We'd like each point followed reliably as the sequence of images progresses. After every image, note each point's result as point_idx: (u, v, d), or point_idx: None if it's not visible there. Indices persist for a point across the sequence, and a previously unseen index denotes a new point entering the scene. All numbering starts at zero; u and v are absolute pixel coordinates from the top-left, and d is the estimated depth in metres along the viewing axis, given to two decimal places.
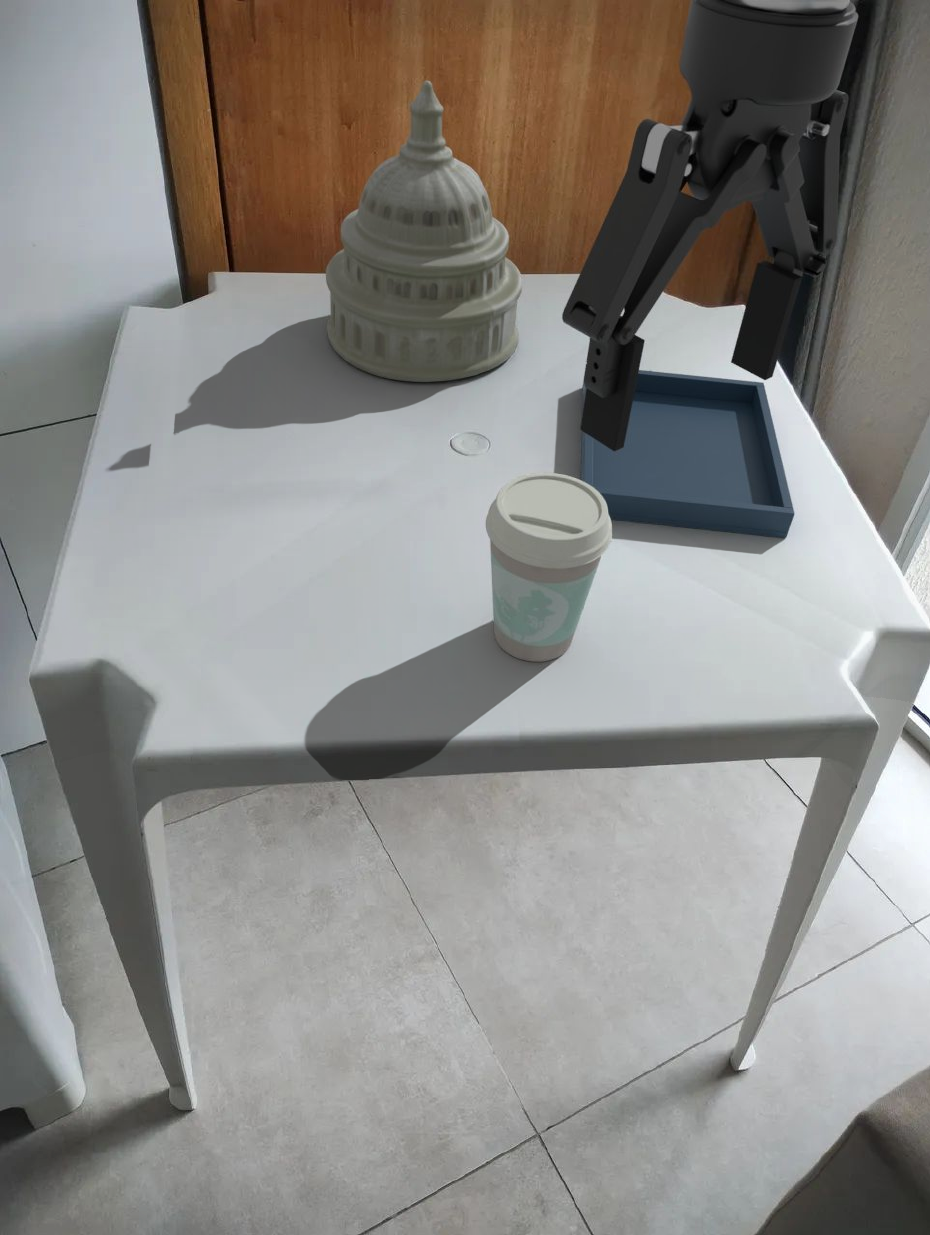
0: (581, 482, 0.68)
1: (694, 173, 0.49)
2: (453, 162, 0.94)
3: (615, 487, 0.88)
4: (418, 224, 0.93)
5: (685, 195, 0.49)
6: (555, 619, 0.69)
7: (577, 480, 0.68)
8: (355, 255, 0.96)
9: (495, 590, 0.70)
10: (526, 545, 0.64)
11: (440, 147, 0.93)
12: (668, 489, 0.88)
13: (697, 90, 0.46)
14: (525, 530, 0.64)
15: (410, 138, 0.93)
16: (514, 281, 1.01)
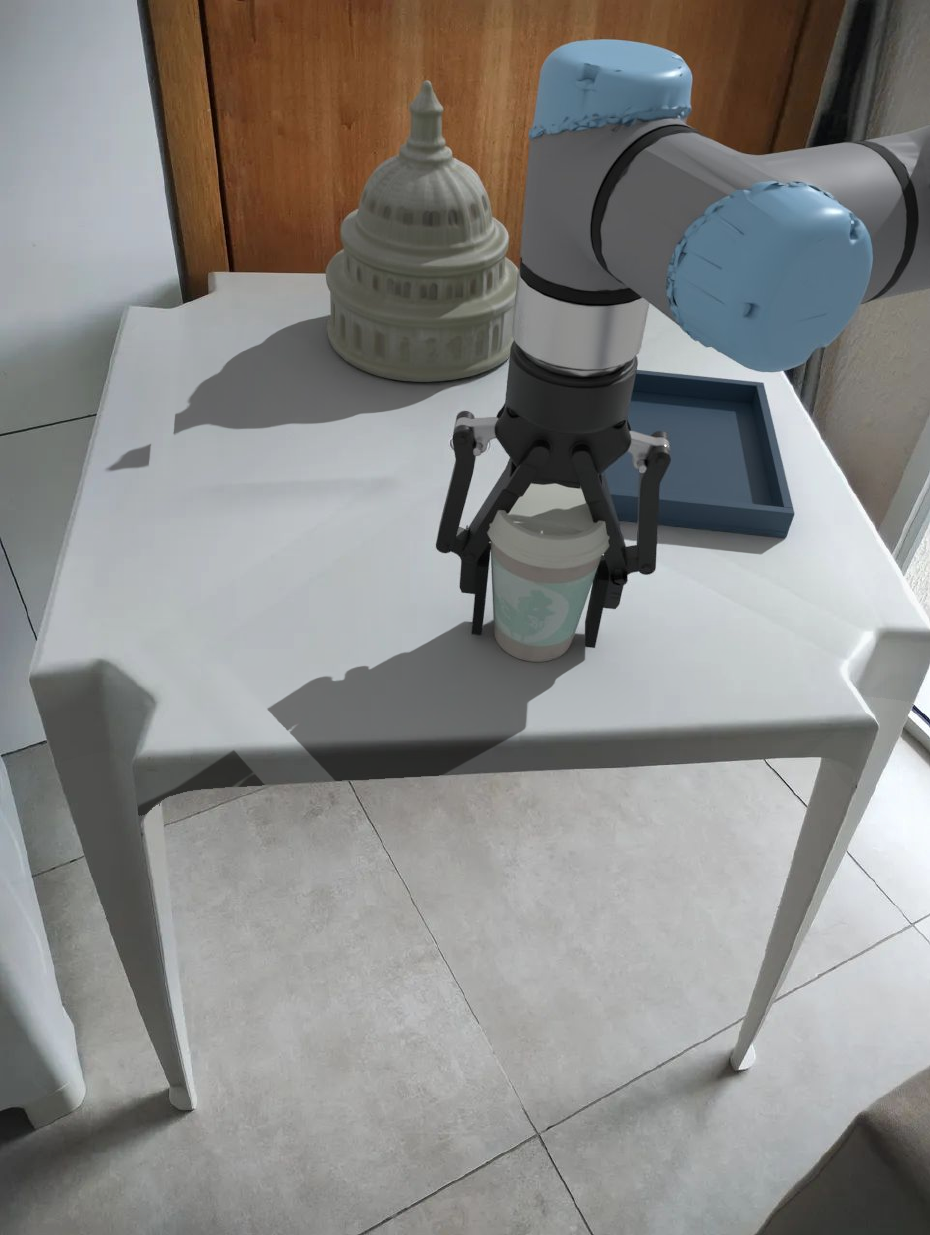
0: None
1: None
2: (453, 162, 0.94)
3: (615, 487, 0.88)
4: (418, 224, 0.93)
5: (510, 469, 0.65)
6: (555, 619, 0.69)
7: None
8: (355, 255, 0.96)
9: (495, 590, 0.70)
10: (526, 545, 0.64)
11: (440, 147, 0.93)
12: (668, 489, 0.88)
13: None
14: (525, 530, 0.64)
15: (410, 138, 0.93)
16: (514, 281, 1.01)
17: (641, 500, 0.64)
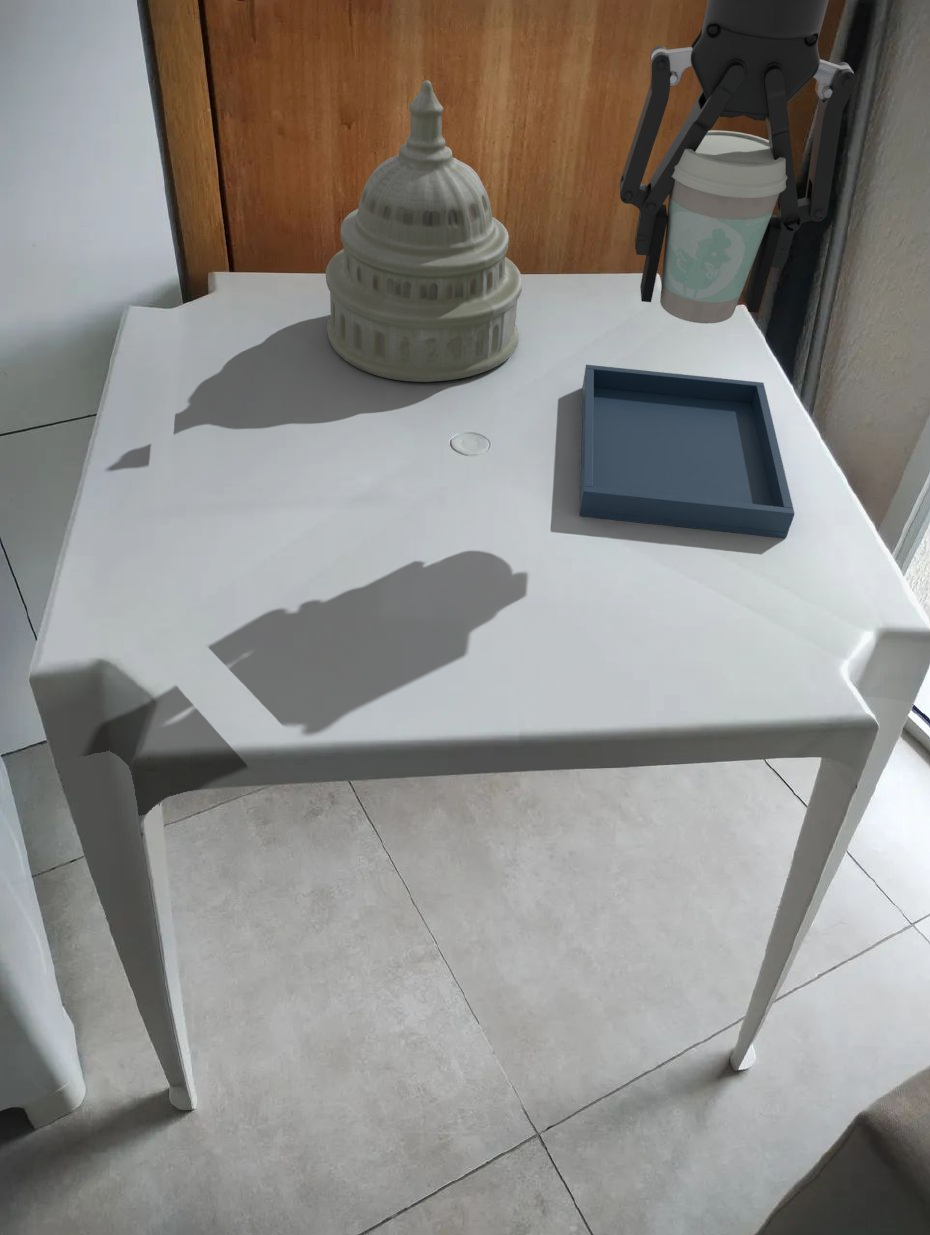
0: (755, 136, 0.73)
1: None
2: (453, 162, 0.94)
3: (615, 487, 0.88)
4: (418, 224, 0.93)
5: (698, 106, 0.69)
6: (730, 268, 0.73)
7: (751, 135, 0.73)
8: (355, 255, 0.96)
9: (671, 245, 0.74)
10: (715, 175, 0.69)
11: (440, 147, 0.93)
12: (668, 489, 0.88)
13: None
14: (714, 160, 0.69)
15: (410, 138, 0.93)
16: (514, 281, 1.01)
17: (823, 131, 0.68)
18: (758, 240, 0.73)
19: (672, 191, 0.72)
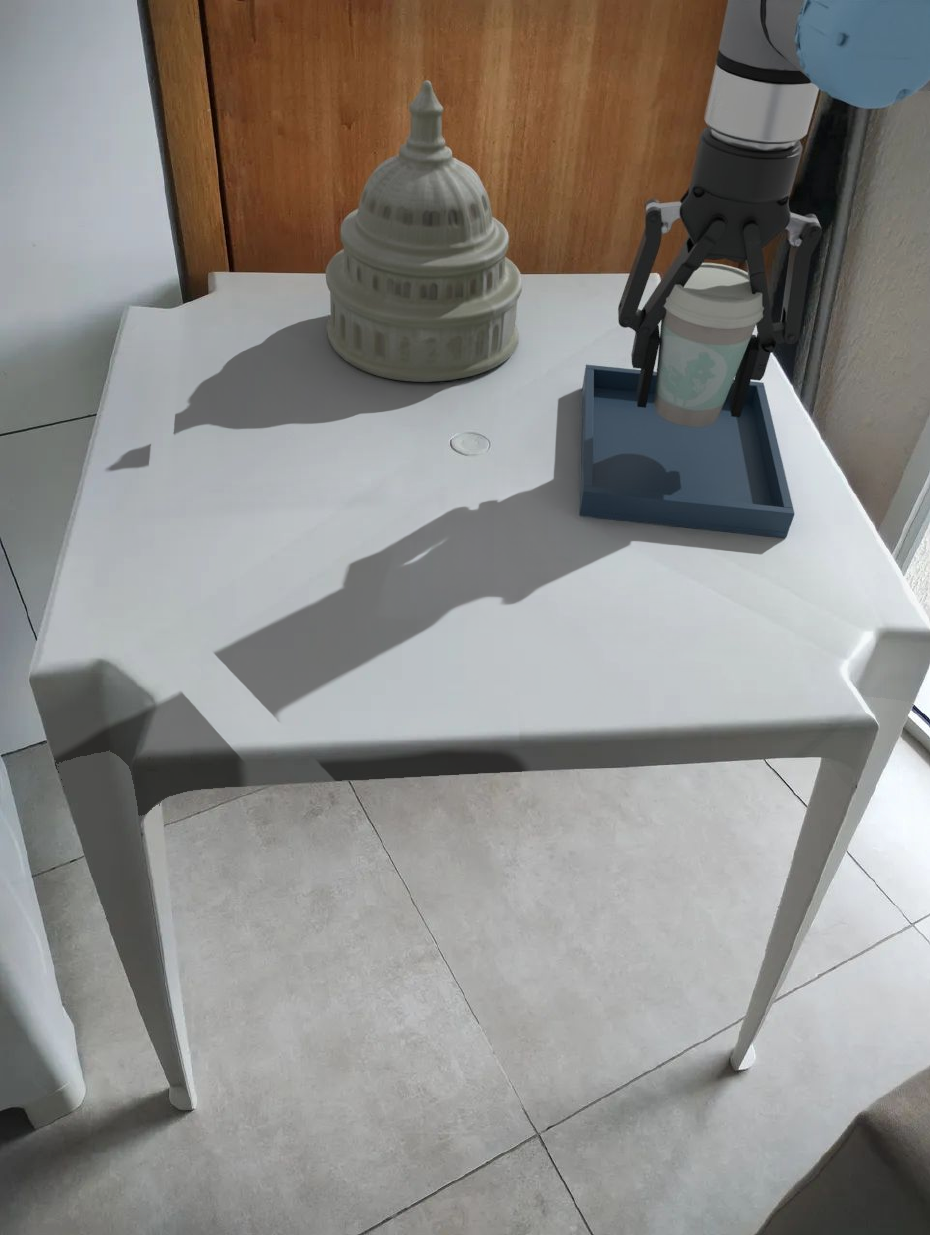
0: (737, 269, 0.83)
1: None
2: (453, 162, 0.94)
3: (615, 487, 0.88)
4: (418, 224, 0.93)
5: (686, 249, 0.80)
6: (714, 382, 0.84)
7: (733, 267, 0.84)
8: (355, 255, 0.96)
9: (663, 361, 0.85)
10: (700, 309, 0.79)
11: (440, 147, 0.93)
12: (668, 489, 0.88)
13: (691, 178, 0.77)
14: (700, 296, 0.79)
15: (410, 138, 0.93)
16: (514, 281, 1.01)
17: (794, 272, 0.79)
18: (739, 359, 0.84)
19: (664, 317, 0.83)
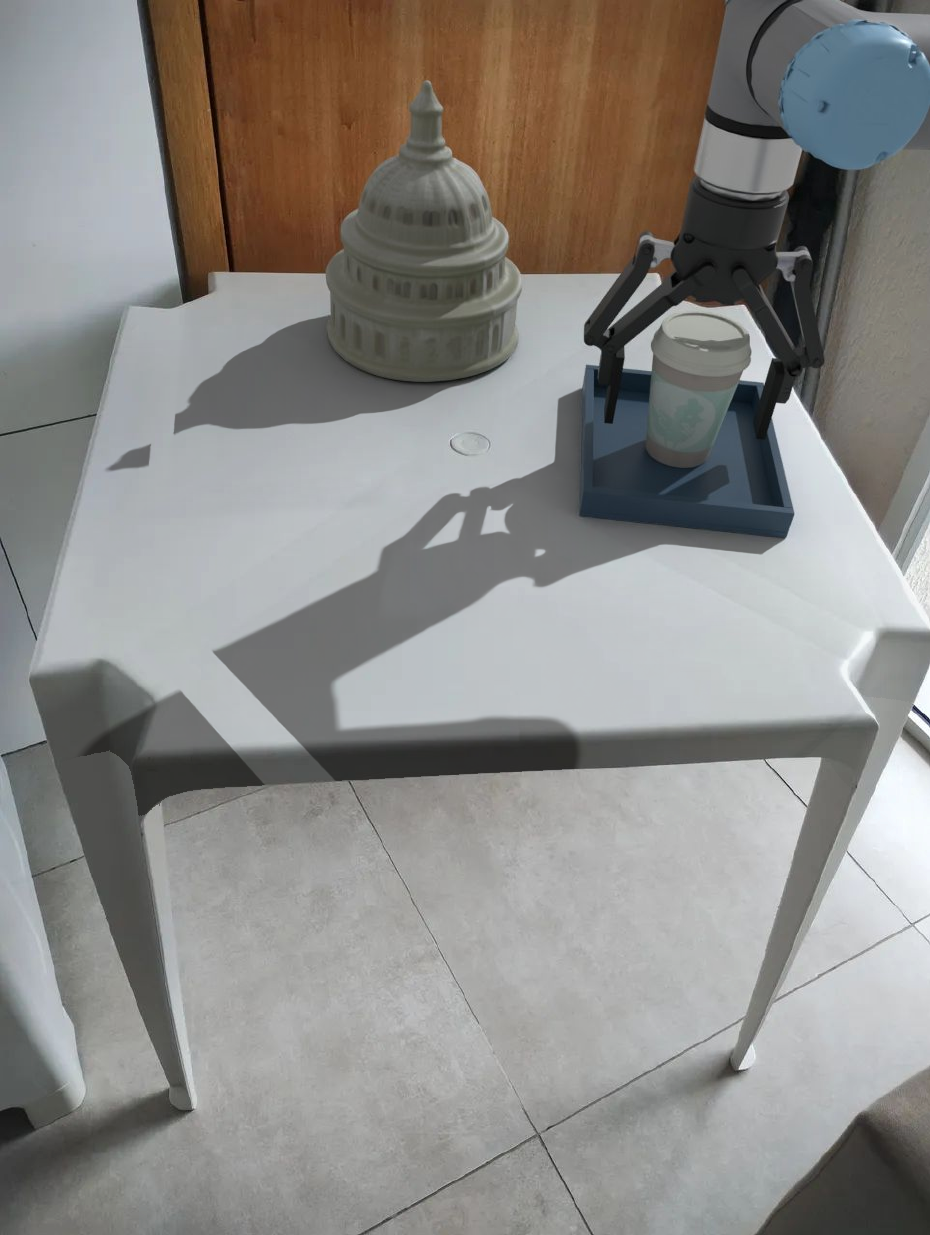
0: (725, 317, 0.86)
1: None
2: (453, 162, 0.94)
3: (615, 487, 0.88)
4: (418, 224, 0.93)
5: (670, 283, 0.82)
6: (703, 426, 0.87)
7: (721, 316, 0.87)
8: (355, 255, 0.96)
9: (654, 405, 0.88)
10: (689, 358, 0.82)
11: (440, 147, 0.93)
12: (668, 489, 0.88)
13: None
14: (688, 346, 0.82)
15: (410, 138, 0.93)
16: (514, 281, 1.01)
17: (798, 304, 0.81)
18: (727, 404, 0.87)
19: (654, 364, 0.86)
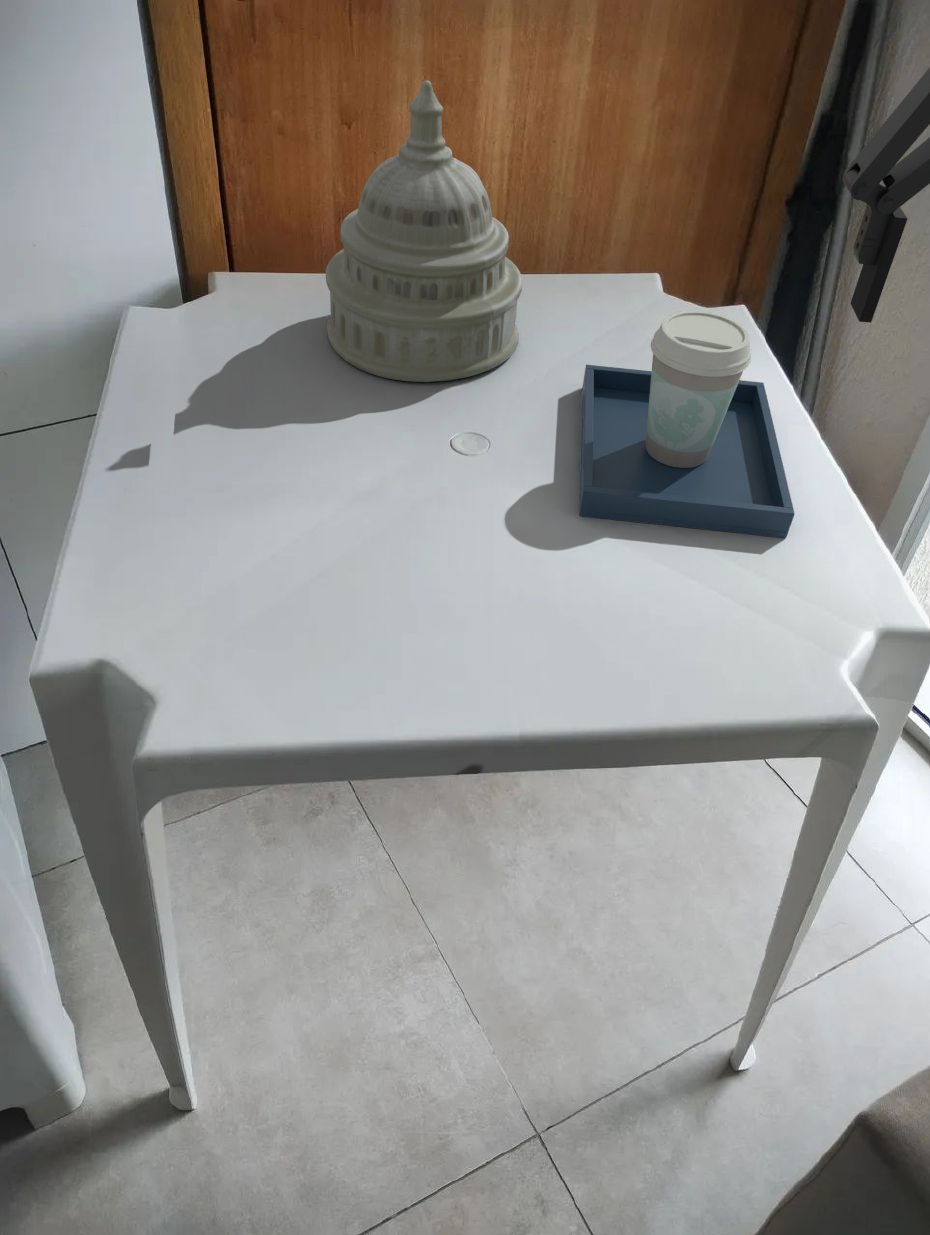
0: (725, 317, 0.86)
1: None
2: (453, 162, 0.94)
3: (615, 487, 0.88)
4: (418, 224, 0.93)
5: None
6: (703, 426, 0.87)
7: (721, 315, 0.87)
8: (355, 255, 0.96)
9: (654, 405, 0.88)
10: (689, 358, 0.82)
11: (440, 147, 0.93)
12: (668, 489, 0.88)
13: None
14: (688, 346, 0.82)
15: (410, 138, 0.93)
16: (514, 281, 1.01)
17: None
18: (727, 404, 0.87)
19: (654, 364, 0.86)
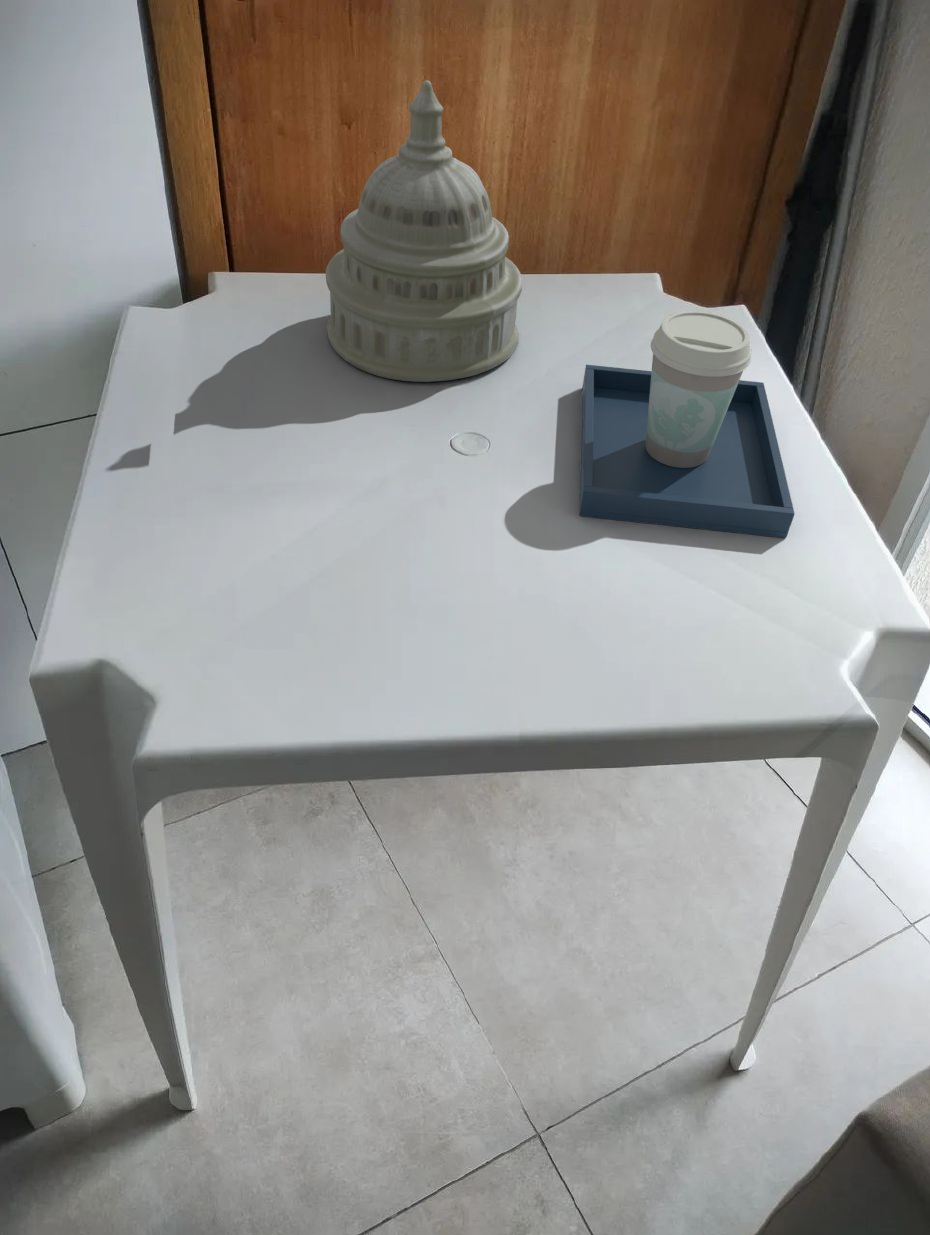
0: (725, 317, 0.86)
1: None
2: (453, 162, 0.94)
3: (615, 487, 0.88)
4: (418, 224, 0.93)
5: None
6: (703, 426, 0.87)
7: (721, 315, 0.87)
8: (355, 255, 0.96)
9: (654, 405, 0.88)
10: (689, 358, 0.82)
11: (440, 147, 0.93)
12: (668, 489, 0.88)
13: None
14: (688, 346, 0.82)
15: (410, 138, 0.93)
16: (514, 281, 1.01)
17: None
18: (727, 404, 0.87)
19: (654, 364, 0.86)
